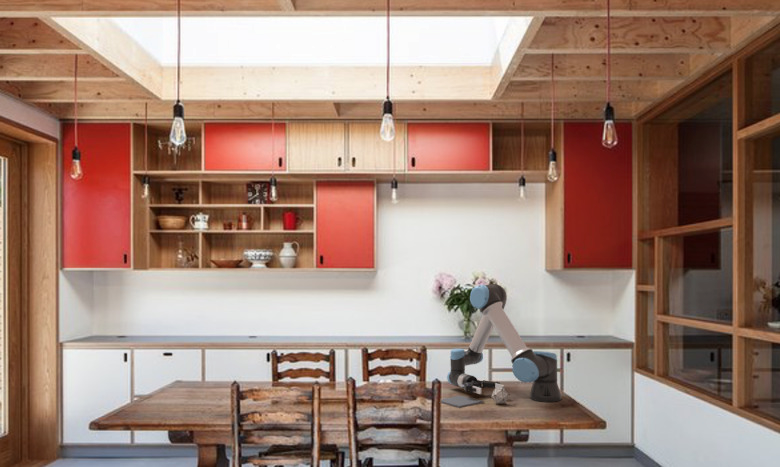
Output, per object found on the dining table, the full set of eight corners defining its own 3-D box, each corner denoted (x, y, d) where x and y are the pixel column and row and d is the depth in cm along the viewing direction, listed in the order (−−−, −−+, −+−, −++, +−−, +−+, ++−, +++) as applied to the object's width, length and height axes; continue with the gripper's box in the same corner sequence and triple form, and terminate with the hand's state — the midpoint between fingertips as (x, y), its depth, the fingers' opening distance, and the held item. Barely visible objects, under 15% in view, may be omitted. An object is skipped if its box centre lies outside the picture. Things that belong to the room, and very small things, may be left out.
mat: (460, 397, 317) (460, 395, 317) (483, 402, 304) (483, 401, 304) (436, 401, 307) (436, 400, 307) (459, 407, 294) (459, 406, 294)
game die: (503, 412, 299) (508, 398, 293) (486, 405, 301) (491, 391, 295) (508, 400, 306) (513, 386, 300) (491, 393, 308) (496, 379, 303)
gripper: (488, 387, 330) (513, 394, 311) (447, 392, 319) (471, 400, 300) (487, 372, 330) (513, 379, 311) (447, 377, 319) (470, 384, 300)
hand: (492, 389), depth 305 cm, fingers open, 13 cm apart
